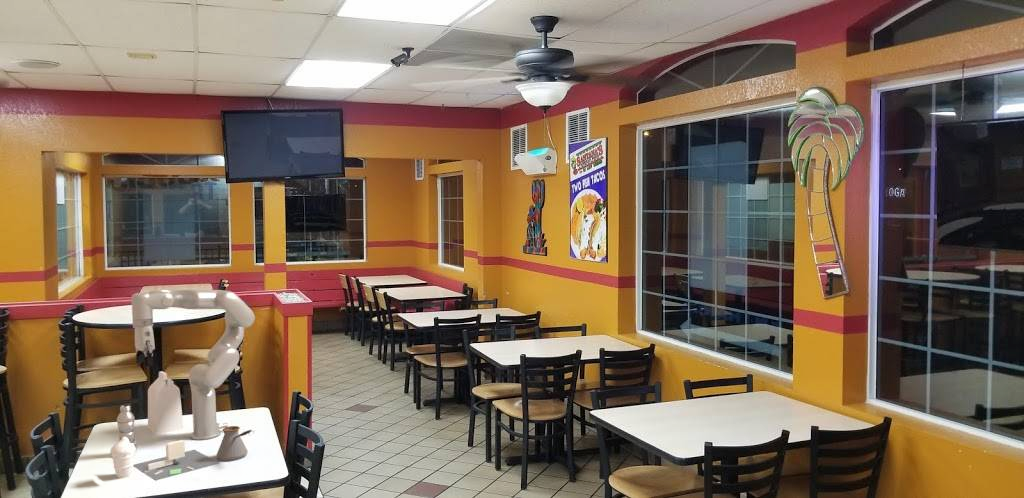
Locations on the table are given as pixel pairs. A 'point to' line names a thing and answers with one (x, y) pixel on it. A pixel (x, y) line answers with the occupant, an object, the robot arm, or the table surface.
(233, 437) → the coffee pot
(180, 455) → the peg head
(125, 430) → the plastic bottle
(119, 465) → the soft serve ice cream cone
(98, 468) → the table surface
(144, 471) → the plate
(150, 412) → the milk
